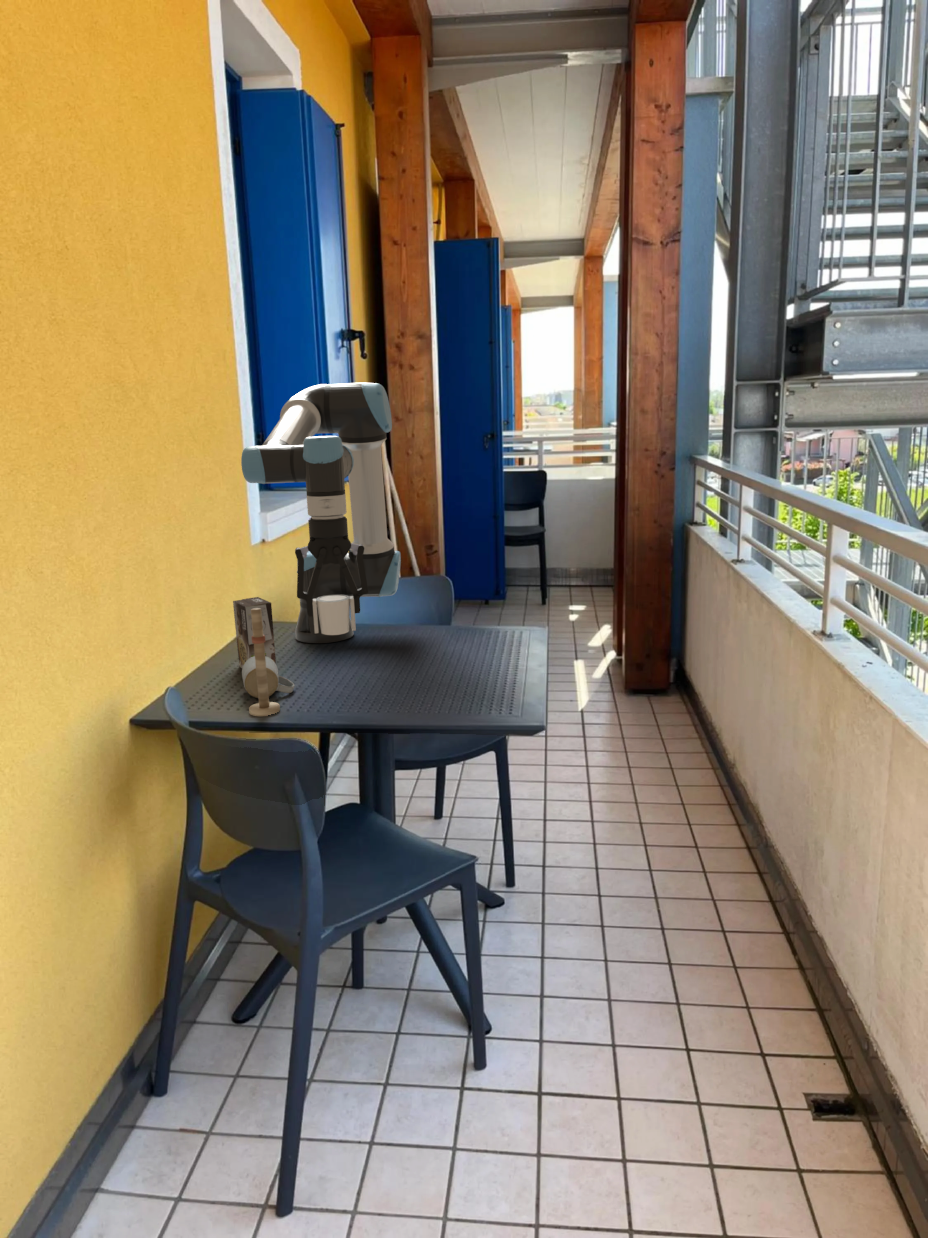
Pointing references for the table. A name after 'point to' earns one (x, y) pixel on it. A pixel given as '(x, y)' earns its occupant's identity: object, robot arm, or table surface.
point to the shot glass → (334, 614)
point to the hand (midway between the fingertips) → (335, 630)
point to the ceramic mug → (272, 678)
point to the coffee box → (245, 628)
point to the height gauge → (261, 669)
